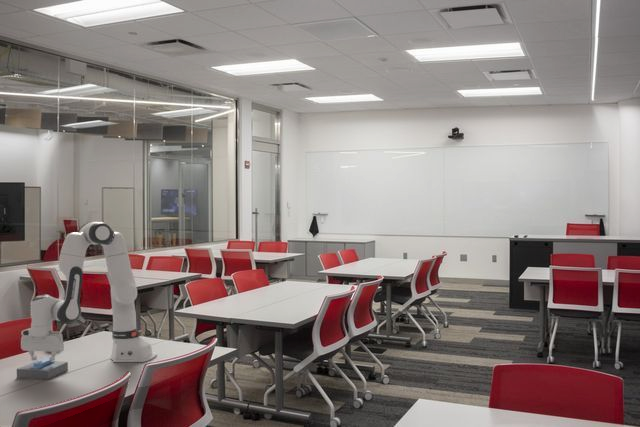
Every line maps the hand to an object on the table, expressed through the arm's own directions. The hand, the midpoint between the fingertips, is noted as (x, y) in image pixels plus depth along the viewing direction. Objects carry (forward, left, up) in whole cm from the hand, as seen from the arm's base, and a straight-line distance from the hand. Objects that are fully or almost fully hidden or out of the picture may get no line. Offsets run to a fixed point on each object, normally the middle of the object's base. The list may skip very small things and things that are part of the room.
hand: (43, 360), depth 269 cm
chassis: (0, 0, -6) cm, 6 cm away
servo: (0, 0, -6) cm, 6 cm away
